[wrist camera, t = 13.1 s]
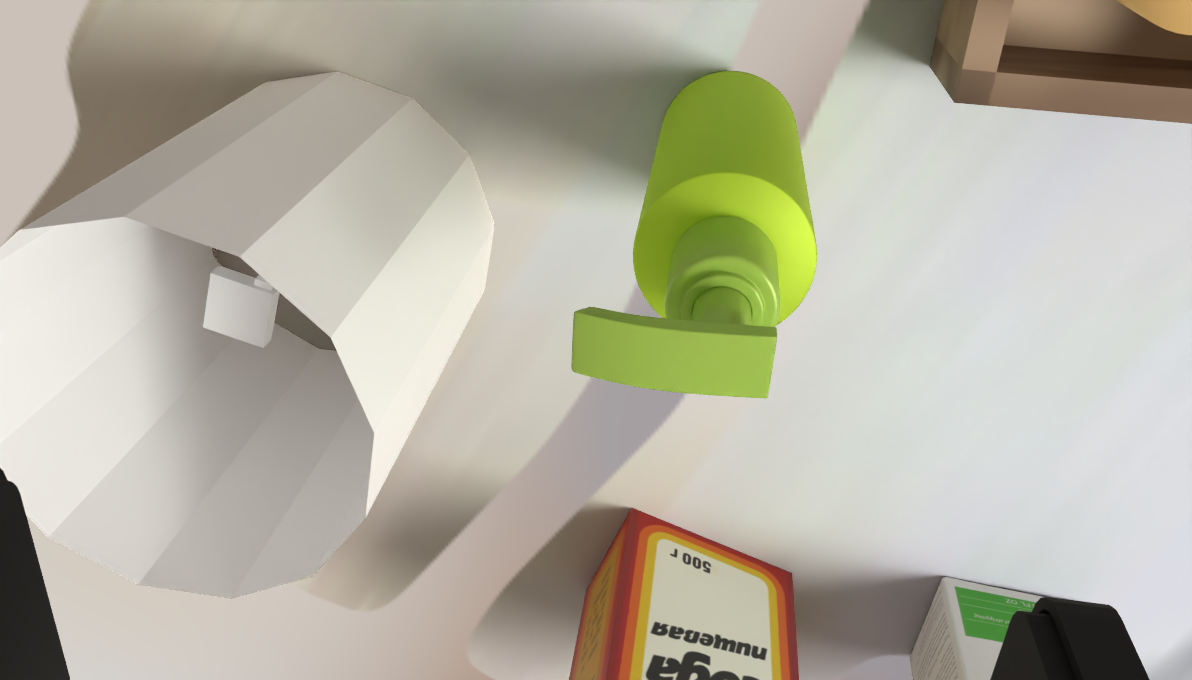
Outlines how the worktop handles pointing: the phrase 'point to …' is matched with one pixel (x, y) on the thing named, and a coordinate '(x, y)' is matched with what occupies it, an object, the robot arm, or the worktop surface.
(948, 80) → the open wooden box
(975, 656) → the skincare box
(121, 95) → the worktop surface
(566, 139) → the worktop surface
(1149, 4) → the amber bottle
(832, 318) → the worktop surface
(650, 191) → the soap dispenser
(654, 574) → the baking soda box
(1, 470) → the robot arm
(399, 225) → the container
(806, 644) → the worktop surface
